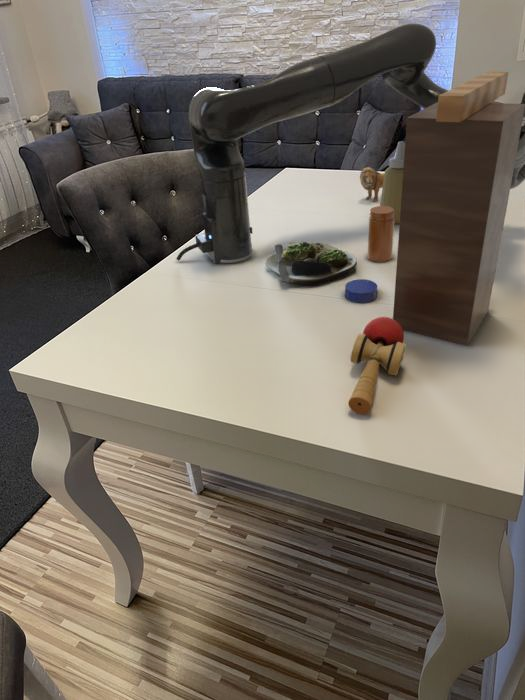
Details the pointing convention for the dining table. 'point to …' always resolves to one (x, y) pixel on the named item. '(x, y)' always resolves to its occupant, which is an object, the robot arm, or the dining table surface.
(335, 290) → the dining table surface
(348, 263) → the salad plate
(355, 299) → the jar lid
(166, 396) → the dining table surface
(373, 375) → the kendama
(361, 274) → the dining table surface
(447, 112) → the rod
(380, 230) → the jar
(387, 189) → the squeeze bottle
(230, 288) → the dining table surface
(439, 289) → the stand
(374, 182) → the lion figurine
